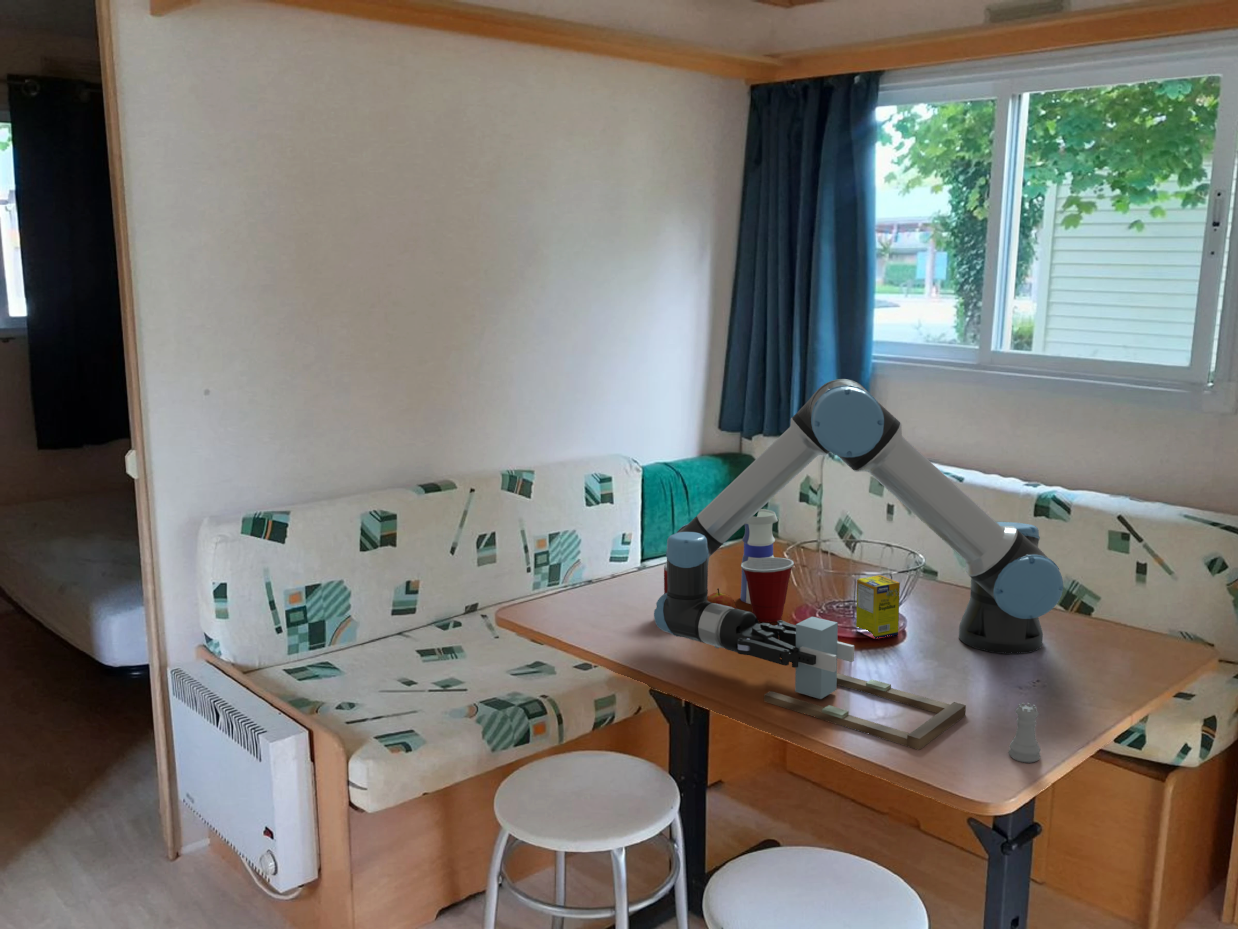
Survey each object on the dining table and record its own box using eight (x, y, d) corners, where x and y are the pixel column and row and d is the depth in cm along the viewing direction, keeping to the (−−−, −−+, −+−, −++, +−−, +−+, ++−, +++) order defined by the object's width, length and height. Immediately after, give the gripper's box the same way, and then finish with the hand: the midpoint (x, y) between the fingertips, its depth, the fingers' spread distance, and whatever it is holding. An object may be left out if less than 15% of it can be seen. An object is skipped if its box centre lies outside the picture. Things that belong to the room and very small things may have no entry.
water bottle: (731, 595, 234) (731, 484, 230) (766, 591, 237) (767, 481, 232) (746, 606, 227) (747, 492, 222) (783, 602, 229) (784, 488, 225)
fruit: (742, 629, 213) (742, 591, 211) (711, 634, 210) (711, 595, 209) (726, 619, 219) (726, 581, 218) (696, 624, 217) (695, 586, 215)
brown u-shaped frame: (764, 701, 178) (764, 691, 178) (815, 673, 190) (815, 663, 190) (919, 750, 160) (919, 739, 160) (965, 715, 172) (965, 705, 171)
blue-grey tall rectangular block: (795, 691, 181) (795, 624, 178) (811, 682, 184) (812, 616, 182) (820, 699, 177) (821, 630, 175) (836, 690, 181) (837, 622, 179)
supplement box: (899, 636, 208) (900, 582, 206) (874, 641, 206) (876, 586, 203) (879, 626, 213) (880, 574, 211) (855, 631, 211) (856, 578, 209)
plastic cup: (758, 606, 227) (758, 551, 225) (802, 615, 220) (803, 560, 218) (730, 619, 219) (730, 563, 217) (775, 630, 212) (776, 572, 210)
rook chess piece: (1033, 749, 160) (1036, 699, 158) (1045, 763, 155) (1049, 712, 154) (1003, 750, 159) (1006, 700, 158) (1015, 764, 155) (1018, 713, 154)
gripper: (758, 635, 199) (870, 664, 183) (699, 663, 186) (814, 697, 170) (758, 596, 197) (871, 622, 182) (699, 621, 184) (815, 652, 169)
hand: (844, 658), depth 176 cm, fingers closed on blue-grey tall rectangular block, 5 cm apart
